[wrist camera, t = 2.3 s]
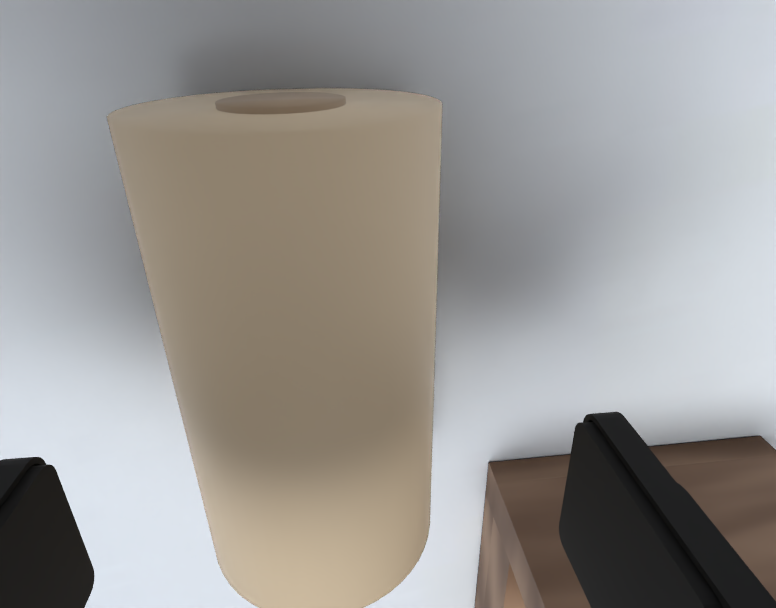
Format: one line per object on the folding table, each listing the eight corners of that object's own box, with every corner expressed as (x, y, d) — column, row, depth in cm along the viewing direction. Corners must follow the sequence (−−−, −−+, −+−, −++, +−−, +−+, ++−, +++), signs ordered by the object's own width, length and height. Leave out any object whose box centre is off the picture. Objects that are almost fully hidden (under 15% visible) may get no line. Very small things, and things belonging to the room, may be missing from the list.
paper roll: (154, 88, 12) (40, 134, 7) (411, 80, 13) (484, 116, 8) (229, 454, 17) (197, 639, 12) (409, 434, 18) (453, 602, 13)
